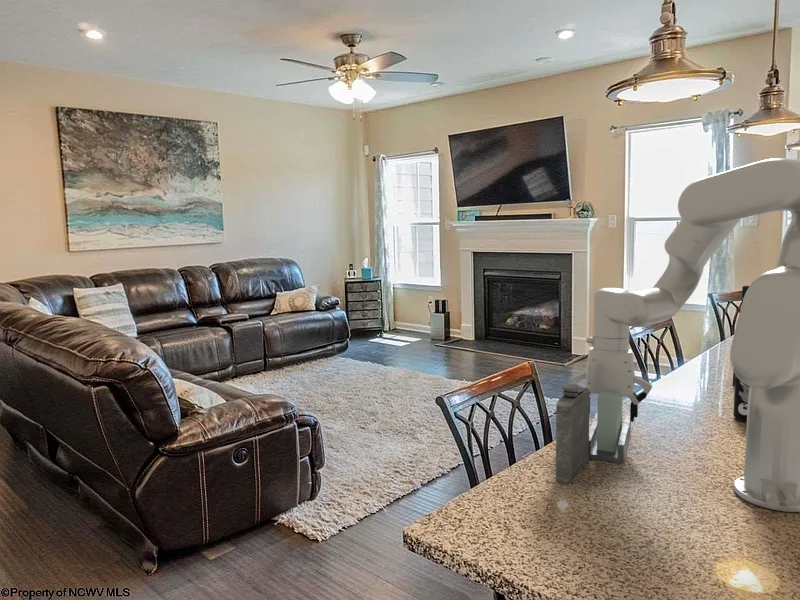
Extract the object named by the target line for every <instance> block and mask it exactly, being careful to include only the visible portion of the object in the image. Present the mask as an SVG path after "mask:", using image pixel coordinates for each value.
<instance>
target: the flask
mask: <svg viewBox="0 0 800 600" xmlns="http://www.w3.org/2000/svg"><path fill="white" fill-rule="evenodd" d="M562 390H563V391H562V393H563V395H562V396H561V397H560V398H559V399H558V400H557V402H556V407H555V408H556V409H555V410H556V411H555V412H556V413H555V415H556V417H555V422H556V423H555V427H556V428H555V482H556V483H558V484H560V485H570V484H571V483H572V480H573V477H574V476H575V474H576V473H577V472H578V471H579V469H581V468H582V467H583V466H584V465H586V464H588V463H589V460H590V458H589V429H590V414H589V402H590V403H591V394H590V390H589V389H588V388H586V387H582V386H581V388H579V386H578V385H576V384H572V383H566V384H565V383H564V384H562Z"/></svg>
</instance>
